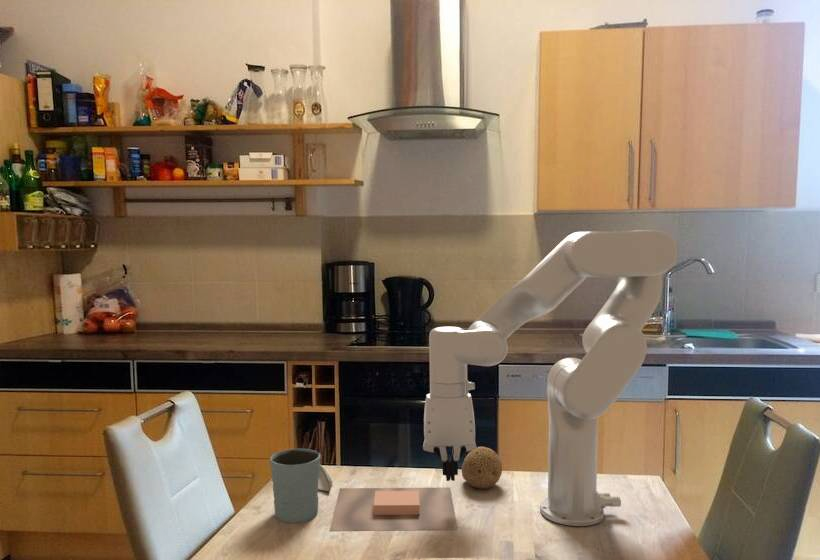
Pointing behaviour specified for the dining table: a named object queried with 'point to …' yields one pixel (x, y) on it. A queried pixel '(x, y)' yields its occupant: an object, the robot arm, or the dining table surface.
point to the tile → (396, 503)
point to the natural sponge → (482, 468)
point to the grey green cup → (295, 484)
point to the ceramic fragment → (324, 480)
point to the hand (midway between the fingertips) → (450, 478)
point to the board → (359, 515)
